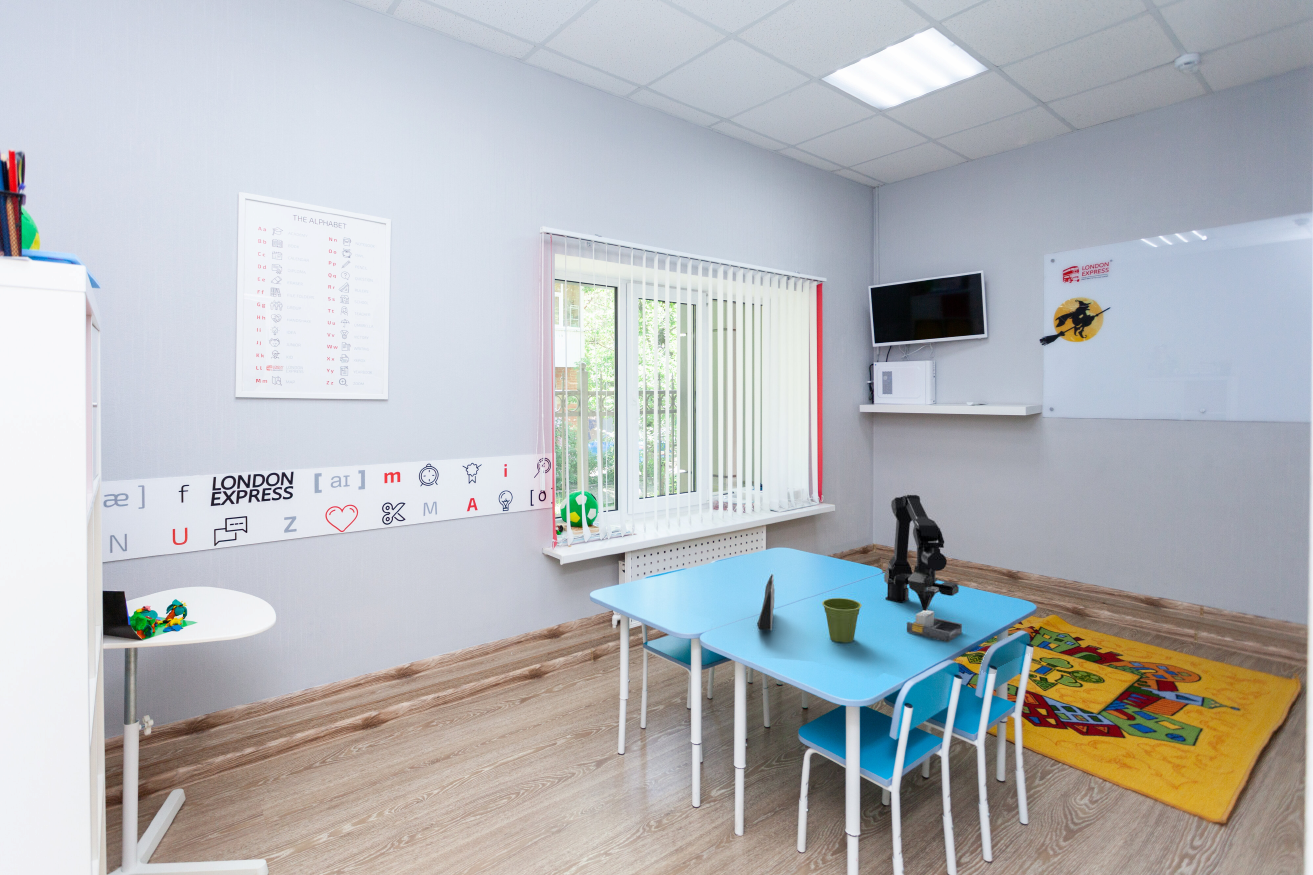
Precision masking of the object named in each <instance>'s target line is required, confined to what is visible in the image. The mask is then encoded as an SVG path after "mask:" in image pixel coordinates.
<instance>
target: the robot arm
mask: <svg viewBox="0 0 1313 875" xmlns="http://www.w3.org/2000/svg"><path fill="white" fill-rule="evenodd" d="M890 507H891V510H892V513H893V515H894V517H895V519H896V520H895V521H896V523H895V534H894V535H895V536H894V547H893V548H894V550H893V556H892V557H891V559H890V560H889V561H888V565H887V567H886V570H885V572H884V575H883V579H884V580H883V581H884V582H885V583H886V585H887V592H886V594H887V596H886V597H885V598H884V599H885V600H887V601H893V602H897V603H905V602H906V601H908V600H909V599H910V597H909V595H910V594H909V589H911V591H913V592H915V593H916V595H917V597H918V599H919V602H920V605H921V607H922V611H923V610H924V611H926V610H928V609H929V607H930V604H931V602H932V601H933V599H934V597H935V595H936V594H937V593H940V594H941V595H944V596H949V597H951V596H955V595H956V594H958V593H959V592H960V591H959V590H960V589H959V588H960V587H959V585H958V584H957V582H956V583H955V582H950V581H944V582H942V583H938V582H937V581H938V578H937V577H936V575H937V574H936V573H937V572H938V571H942V570H943V569H945V568H946V566H947V564H948V563H947V561H948V560H947V558H946V555H944V554H943V553H941V548H942V549H944V548H945V538H944V537H943V532H942V531H941V528H940V526H939V525H938V524H937V523H936V521H935V520H933V519H931V518H929V516H928V515H927V513H926V511H925V509H924V507H923V504H922V502H921V497H920V495H917V494H905V495H902V496H899V497H894V498H893V499H892V500H891V504H890ZM911 523H913V529H912V535H913V536H912V537H913V538H914V542H915V546H916V564H915V566H914V570H912V565H910V563H909V561H908V553H909V540H910V529H911Z"/></svg>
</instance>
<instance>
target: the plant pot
mask: <svg viewBox="0 0 1313 875" xmlns="http://www.w3.org/2000/svg"><path fill="white" fill-rule="evenodd" d="M821 605H822V606H823V609H824V613H825V616H826V621H827V628H828V635H829V638H830V639H831V641H833V642H836V643H838V642H840V643H843V644H847V643H851V642H853V641H854V639H855V635H856V629H857V628H856V627H857V621H858V616H859V615H860V609H861V608H862V605H863V604H862V603H860V602H859V601H857V600H855V599H851V598H843V597H834V598H827V599H825V600H823V601H822V602H821Z"/></svg>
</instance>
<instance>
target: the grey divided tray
mask: <svg viewBox="0 0 1313 875" xmlns="http://www.w3.org/2000/svg"><path fill="white" fill-rule="evenodd" d="M906 633H910V634H914V635H918V636H922V637H924V638H929V639H933V640H938V641H941V642H945V643H950V642H951V641H953V640H954V639H956V638H957V637H959V636H960V635H961V634H962V633H963V624H962V623H960V622H955V621H952V620H946V619H943V618H938V617H935V616H934V626H933V627H927V626H924V625H921V624H917V623H916V620H915V621H913V622H911V621H907V622H906Z"/></svg>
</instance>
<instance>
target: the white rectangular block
mask: <svg viewBox="0 0 1313 875" xmlns="http://www.w3.org/2000/svg"><path fill="white" fill-rule="evenodd" d="M934 617H935V611H934V610H928V609H927V610H926V611H924V610H923V609H922V611H920V612H918V613H916V614H915V621H916V623H917V624H921V625H924V626H927V627H933V626H934Z"/></svg>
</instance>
